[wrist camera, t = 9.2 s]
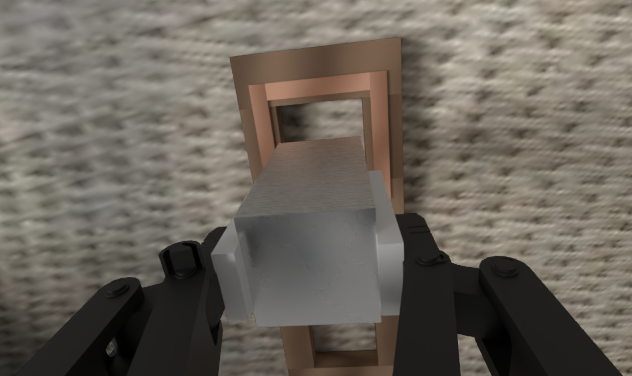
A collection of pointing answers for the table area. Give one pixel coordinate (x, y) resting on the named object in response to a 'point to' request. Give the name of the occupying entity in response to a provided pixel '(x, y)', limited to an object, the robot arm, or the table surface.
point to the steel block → (311, 236)
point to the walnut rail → (380, 154)
